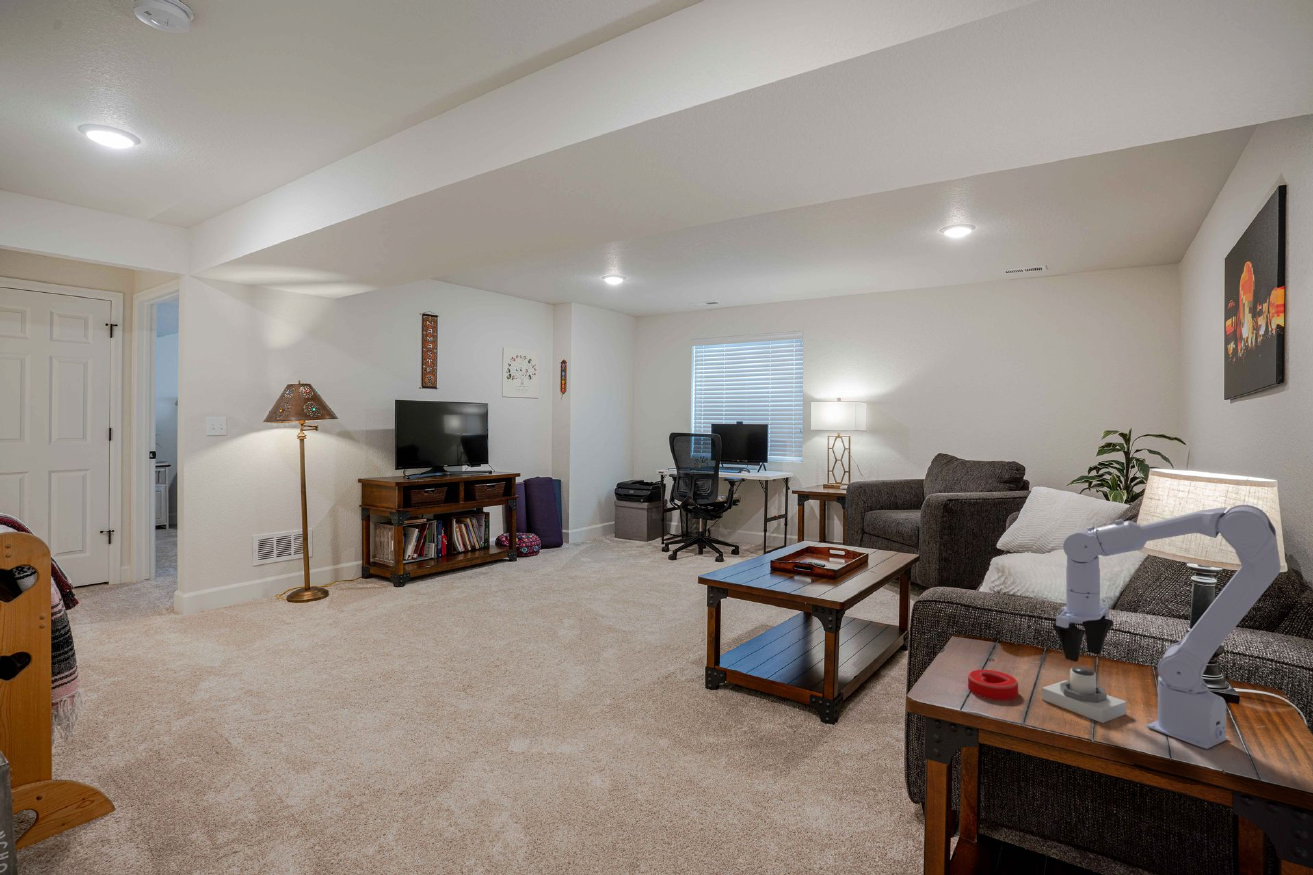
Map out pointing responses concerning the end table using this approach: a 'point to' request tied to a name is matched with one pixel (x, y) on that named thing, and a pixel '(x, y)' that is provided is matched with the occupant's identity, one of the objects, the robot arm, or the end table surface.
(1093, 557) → the robot arm
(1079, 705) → the plate with octagonal ring
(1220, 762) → the end table surface
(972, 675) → the decorative ornament
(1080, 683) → the lens
